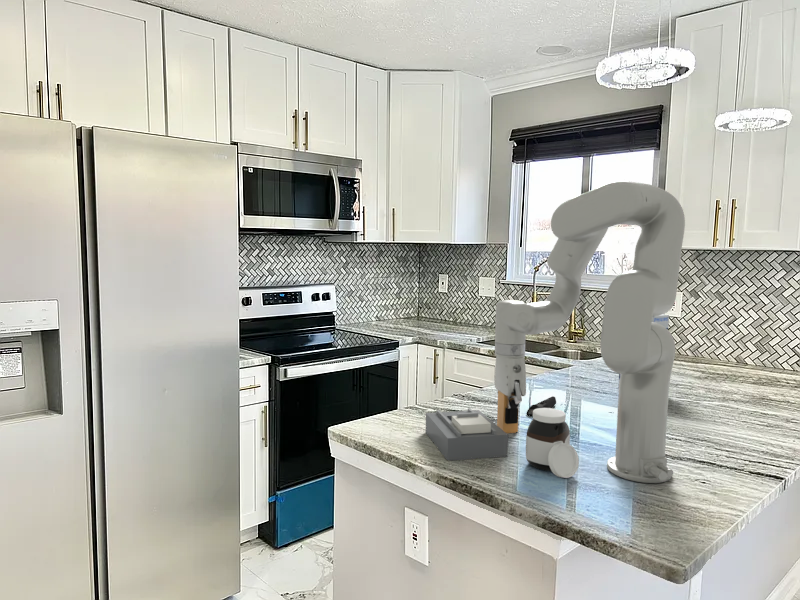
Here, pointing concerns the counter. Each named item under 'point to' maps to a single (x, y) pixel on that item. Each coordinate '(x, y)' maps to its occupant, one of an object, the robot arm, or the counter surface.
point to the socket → (465, 438)
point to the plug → (501, 414)
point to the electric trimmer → (542, 405)
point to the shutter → (471, 423)
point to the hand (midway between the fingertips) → (507, 419)
